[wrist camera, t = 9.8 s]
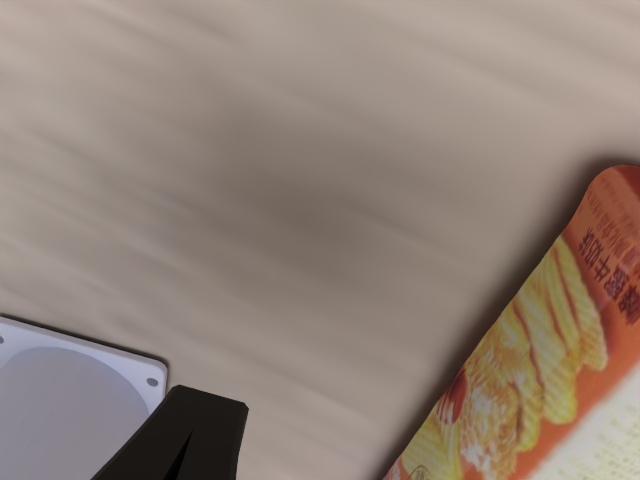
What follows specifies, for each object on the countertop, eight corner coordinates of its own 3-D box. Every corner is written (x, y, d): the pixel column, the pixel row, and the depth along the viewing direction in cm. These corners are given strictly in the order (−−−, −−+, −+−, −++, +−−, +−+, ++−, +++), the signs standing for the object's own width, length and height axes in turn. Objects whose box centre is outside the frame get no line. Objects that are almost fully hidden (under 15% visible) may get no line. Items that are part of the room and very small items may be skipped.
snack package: (458, 560, 30) (466, 732, 24) (332, 513, 29) (307, 676, 23) (807, 212, 17) (1008, 385, 11) (598, 124, 17) (692, 255, 11)
